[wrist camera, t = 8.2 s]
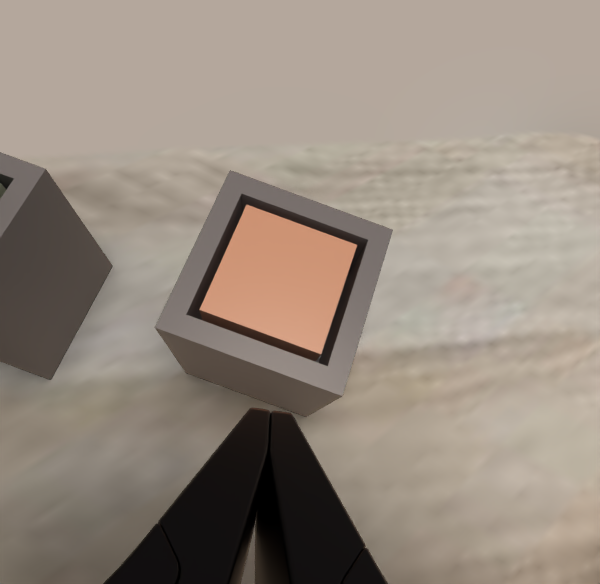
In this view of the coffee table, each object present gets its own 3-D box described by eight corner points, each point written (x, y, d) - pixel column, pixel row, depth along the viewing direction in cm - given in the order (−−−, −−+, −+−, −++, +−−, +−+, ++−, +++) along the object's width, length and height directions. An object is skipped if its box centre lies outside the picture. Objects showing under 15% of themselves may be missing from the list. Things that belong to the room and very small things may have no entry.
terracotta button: (342, 272, 18) (357, 245, 16) (310, 368, 16) (321, 354, 14) (245, 236, 18) (246, 204, 16) (205, 330, 16) (199, 309, 14)
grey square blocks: (343, 303, 24) (392, 229, 16) (191, 769, 17) (147, 1040, 9) (-54, 158, 24) (-199, 13, 16) (-364, 565, 17) (-881, 659, 9)
